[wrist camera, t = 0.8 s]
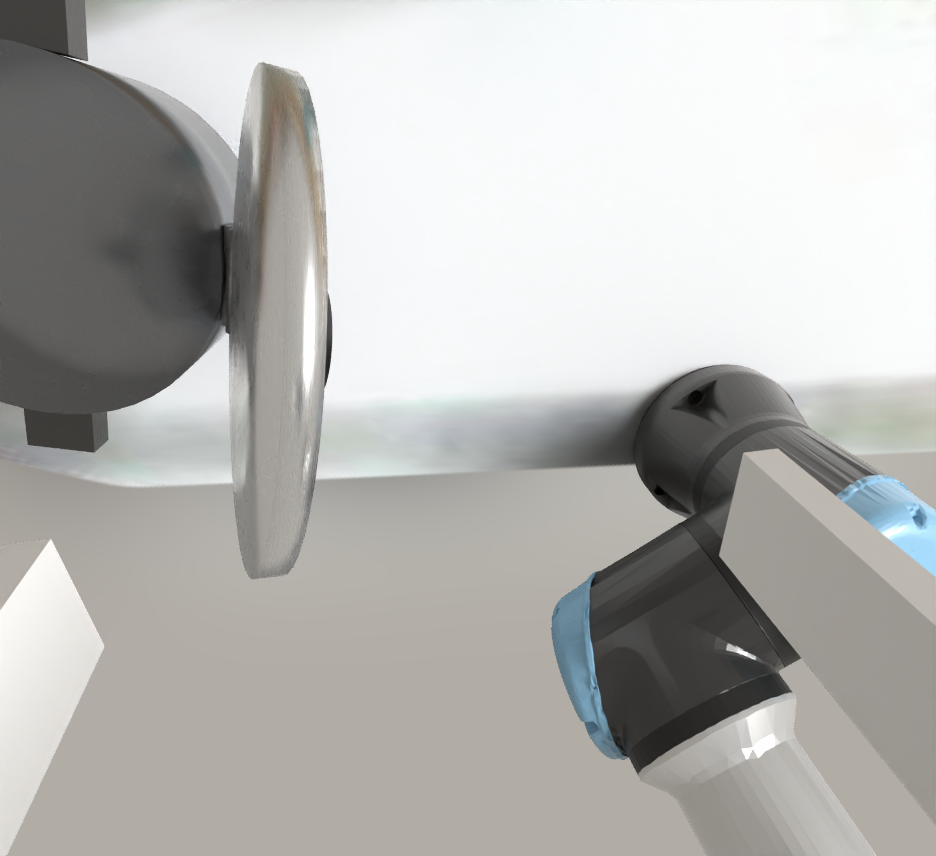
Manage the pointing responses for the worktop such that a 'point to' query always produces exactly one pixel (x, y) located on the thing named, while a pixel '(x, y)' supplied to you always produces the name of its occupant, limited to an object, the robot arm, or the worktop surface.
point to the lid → (277, 320)
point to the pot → (100, 231)
